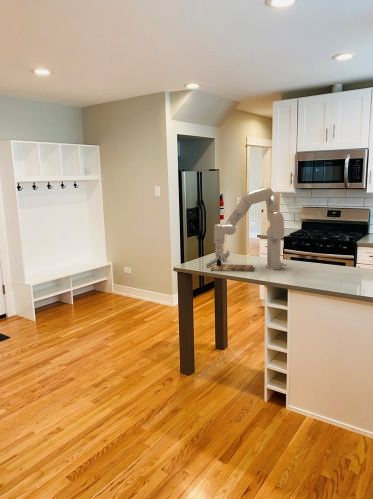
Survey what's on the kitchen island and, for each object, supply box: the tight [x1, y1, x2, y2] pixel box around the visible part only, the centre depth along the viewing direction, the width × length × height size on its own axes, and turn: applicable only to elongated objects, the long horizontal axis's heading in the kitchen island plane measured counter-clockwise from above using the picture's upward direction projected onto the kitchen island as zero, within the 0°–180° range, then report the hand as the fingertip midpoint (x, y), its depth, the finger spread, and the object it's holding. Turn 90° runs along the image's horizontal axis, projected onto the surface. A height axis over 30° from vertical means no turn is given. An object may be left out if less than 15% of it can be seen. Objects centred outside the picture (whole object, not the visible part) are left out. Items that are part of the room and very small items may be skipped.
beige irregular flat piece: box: [211, 263, 235, 272], centre depth 278 cm, size 15×11×2 cm
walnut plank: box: [233, 264, 254, 272], centre depth 275 cm, size 13×11×2 cm
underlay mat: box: [210, 266, 256, 273], centre depth 277 cm, size 31×13×1 cm, turn 78°
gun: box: [205, 250, 230, 269], centre depth 295 cm, size 2×30×8 cm, turn 140°
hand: (218, 265), depth 278 cm, fingers closed
